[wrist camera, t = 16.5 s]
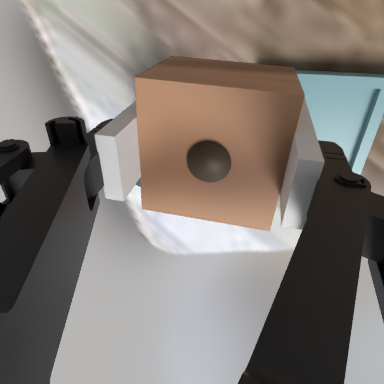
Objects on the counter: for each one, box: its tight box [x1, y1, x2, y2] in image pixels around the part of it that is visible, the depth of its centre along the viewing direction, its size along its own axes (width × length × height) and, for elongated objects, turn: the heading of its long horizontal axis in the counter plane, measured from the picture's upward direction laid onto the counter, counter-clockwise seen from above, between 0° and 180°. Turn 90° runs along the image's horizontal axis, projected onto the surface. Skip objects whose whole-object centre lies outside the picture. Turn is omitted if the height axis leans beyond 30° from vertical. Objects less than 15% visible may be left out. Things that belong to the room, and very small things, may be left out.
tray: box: [295, 70, 384, 175], centre depth 31 cm, size 12×12×2 cm
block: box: [135, 56, 305, 231], centre depth 14 cm, size 6×6×5 cm
